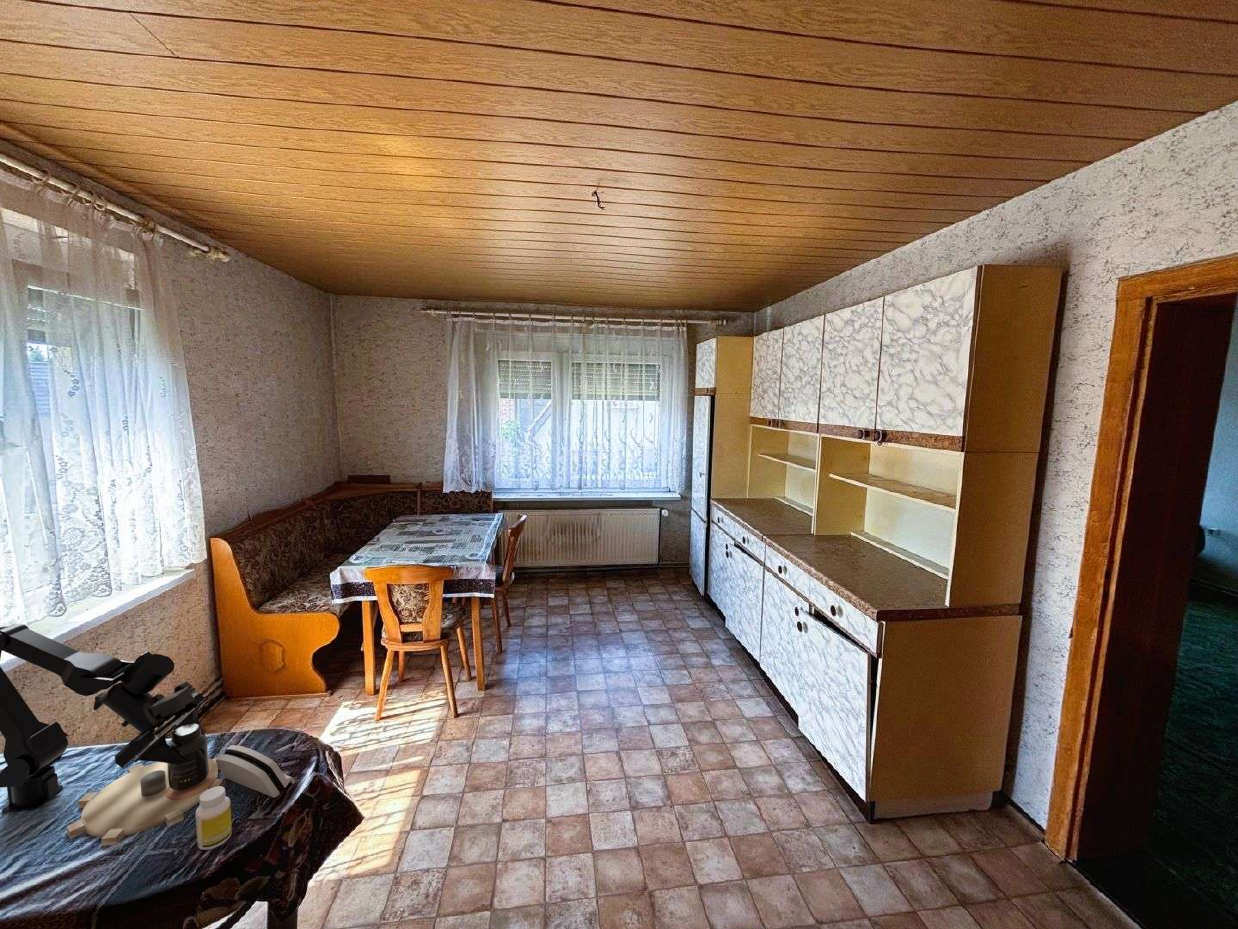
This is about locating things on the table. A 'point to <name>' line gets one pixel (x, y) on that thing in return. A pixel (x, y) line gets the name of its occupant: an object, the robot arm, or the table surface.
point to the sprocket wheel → (138, 803)
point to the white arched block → (252, 770)
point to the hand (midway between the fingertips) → (194, 752)
